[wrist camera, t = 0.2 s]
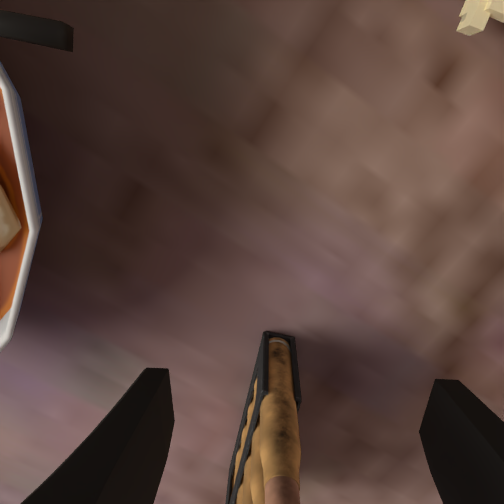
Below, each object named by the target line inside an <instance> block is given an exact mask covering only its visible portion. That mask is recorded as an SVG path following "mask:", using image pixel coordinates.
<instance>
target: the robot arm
mask: <svg viewBox="0 0 504 504" xmlns="http://www.w3.org/2000/svg"><path fill="white" fill-rule="evenodd" d="M174 421H175V420H174V411H173V403H172V394H171V385H170V377H169V369H167V368H146V369H145V370H143V371H142V373H141V374H140V375H139V377H138V378H137V379H136V380H135V382H134V383H133V384H132V385H131V387H130V388H129V389H128V390H127V392H126V393H125V394H124V395H123V396H122V398H121V399H120V400H119V401H118V402H117V404H116V405H115V406H114V407H113V408H112V410H111V411H110V412H109V413H108V414H107V415H106V417H105V418H104V419H103V420H102V421H101V422H100V423H99V424H98V426H97V427H96V428H95V429H94V430H93V431H92V432H91V434H90V435H89V436H88V437H87V438H86V439H85V440H84V441H83V442H82V443H81V444H80V445H79V446H78V447H77V449H76V450H75V451H74V452H73V453H72V454H71V455H70V456H69V457H68V458H67V459H66V460H65V461H64V462H63V463H62V464H61V465H60V466H59V467H58V468H57V469H56V470H55V471H54V472H53V473H52V474H51V475H50V476H49V477H48V478H47V479H46V480H45V481H44V482H43V483H42V484H41V485H40V486H39V487H38V488H37V489H36V490H35V491H34V492H33V493H31V494H30V495H29V496H28V497H27V498H26V499H25V500H24V501H23V502H22V503H21V504H153V503H154V500H155V497H156V493H157V490H158V487H159V484H160V481H161V477H162V474H163V471H164V467H165V464H166V461H167V457H168V452H169V447H170V442H171V437H172V432H173V427H174ZM419 433H420V437H421V441H422V445H423V448H424V452H425V455H426V459H427V462H428V465H429V469H430V472H431V474H432V477H433V480H434V482H435V485H436V487H437V489H438V492H439V494H440V497H441V499H442V502H443V504H504V422H503V421H502V420H501V419H500V418H499V417H498V416H497V415H496V414H494V413H493V412H492V411H491V410H490V409H489V408H488V407H487V406H486V405H485V404H484V403H483V402H482V401H481V400H480V399H478V398H477V397H476V396H475V395H474V394H473V393H472V392H471V391H470V390H469V389H468V388H467V387H466V386H464V385H463V384H462V383H461V382H460V381H459V380H445V379H435V381H434V384H433V388H432V391H431V394H430V397H429V401H428V404H427V407H426V410H425V414H424V417H423V420H422V423H421V427H420V430H419Z"/></svg>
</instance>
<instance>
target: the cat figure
mask: <svg viewBox="0 0 504 504" xmlns="http://www.w3.org/2000/svg"><path fill="white" fill-rule="evenodd" d="M459 17H461V18H462V19H461V21H460V23H459V26H458V28H457V30H456V31H458V32H460V33H463V34H466V35H468V36H471V35H473V34H476V33H478V32H481V31H483V30H484V28H485V26H486V23H487V21H488V19H489V17H490V18H493V19H495V20H498V21H500V22H503V23H504V0H466V1H465V3H464V6H463V8H462V10H461V13H460V15H459Z"/></svg>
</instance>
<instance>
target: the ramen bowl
mask: <svg viewBox="0 0 504 504" xmlns="http://www.w3.org/2000/svg"><path fill="white" fill-rule="evenodd" d="M73 31H74V28H73V27H71V26H69V25H67V24H65V23H64V22H61V21H56V20H51V19H46V18H40V17H35V16H30V15H25V14H19V13H14V12H9V11H4V10H0V37H4V38H9V39H14V40H18V41H23V42H28V43H32V44H37V45H42V46H46V47H51V48H56V49H60V50H65V51H70V52H73ZM42 220H43V217H42V211H41V206H40V200H39V195H38V189H37V184H36V179H35V173H34V168H33V162H32V157H31V151H30V146H29V141H28V135H27V130H26V124H25V119H24V113H23V108H22V102H21V98H20V96H19V94H18V92H17V91H16V89H15V87H14V85H13V83H12V81H11V80H10V78H9V76H8V74H7V72H6V70H5V69H4V67H3V65H2V63H1V61H0V352H1V351H2V350H3V349H4V348H5V347H6V345H7V344H8V343H9V342H10V341H11V339H12V336H13V332H14V329H15V326H16V322H17V319H18V316H19V313H20V309H21V305H22V301H23V297H24V293H25V289H26V285H27V281H28V277H29V272H30V268H31V264H32V260H33V256H34V252H35V248H36V244H37V240H38V236H39V232H40V228H41V224H42Z"/></svg>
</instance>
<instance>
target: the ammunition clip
mask: <svg viewBox="0 0 504 504" xmlns="http://www.w3.org/2000/svg"><path fill="white" fill-rule="evenodd" d="M300 404H301V391H300V381H299V372H298V363H297V354H296V345H295V338H294V337H291V336H286V335H281V334H276V333H271V332H267V331H265V332H263V335H262V339H261V343H260V347H259V352H258V356H257V360H256V364H255V368H254V372H253V376H252V380H251V384H250V388H249V392H248V396H247V400H246V404H245V408H244V412H243V416H242V420H241V424H240V428H239V432H238V436H237V440H236V444H235V448H234V452H233V456H232V460H231V464H230V468H229V477H228V486H227V495H226V504H300V496H299V490H300V481H299V468H300V460H301V447H300V437H299V427H298V417H297V413H298V410H299V407H300Z"/></svg>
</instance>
